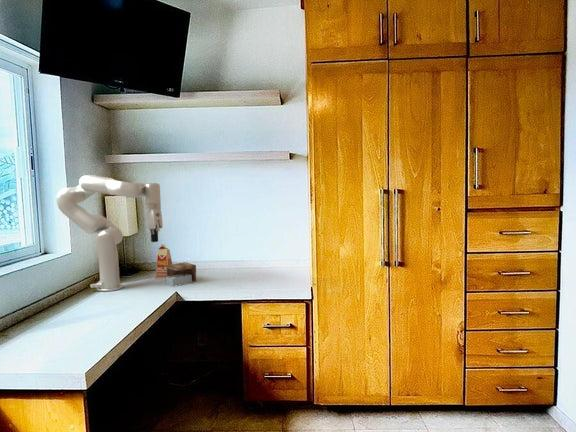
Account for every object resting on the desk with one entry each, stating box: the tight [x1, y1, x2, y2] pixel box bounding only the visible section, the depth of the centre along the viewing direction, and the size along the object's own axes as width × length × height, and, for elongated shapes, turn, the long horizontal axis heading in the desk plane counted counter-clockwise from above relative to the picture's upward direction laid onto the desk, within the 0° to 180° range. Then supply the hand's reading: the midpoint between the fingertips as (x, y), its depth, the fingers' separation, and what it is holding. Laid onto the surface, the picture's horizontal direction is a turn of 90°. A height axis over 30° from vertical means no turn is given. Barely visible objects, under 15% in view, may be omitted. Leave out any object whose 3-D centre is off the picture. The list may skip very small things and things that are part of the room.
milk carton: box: [154, 243, 173, 280], centre depth 258 cm, size 9×9×20 cm
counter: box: [166, 261, 197, 283], centre depth 245 cm, size 12×12×10 cm
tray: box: [165, 273, 193, 287], centre depth 242 cm, size 12×6×4 cm, turn 137°
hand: (154, 241), depth 232 cm, fingers closed
